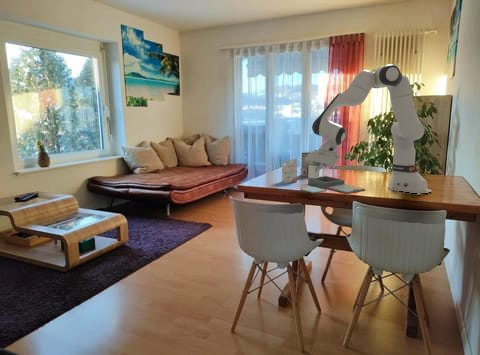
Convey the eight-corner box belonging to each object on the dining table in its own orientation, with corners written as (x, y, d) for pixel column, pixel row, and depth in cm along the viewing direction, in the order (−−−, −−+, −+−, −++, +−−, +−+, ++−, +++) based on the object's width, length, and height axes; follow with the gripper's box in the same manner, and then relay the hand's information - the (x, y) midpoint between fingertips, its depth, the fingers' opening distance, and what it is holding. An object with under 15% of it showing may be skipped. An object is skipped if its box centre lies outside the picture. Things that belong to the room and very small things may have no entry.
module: (319, 177, 190) (319, 163, 188) (313, 178, 188) (314, 164, 186) (313, 176, 193) (314, 162, 192) (308, 177, 191) (308, 163, 190)
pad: (326, 190, 190) (326, 190, 190) (313, 193, 185) (313, 192, 185) (313, 187, 199) (313, 186, 198) (300, 189, 193) (300, 188, 193)
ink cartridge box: (293, 180, 219) (293, 158, 217) (297, 182, 215) (297, 159, 212) (281, 181, 216) (281, 158, 214) (285, 183, 212) (285, 159, 209)
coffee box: (310, 174, 242) (311, 151, 239) (316, 175, 237) (317, 152, 234) (300, 175, 238) (301, 152, 235) (306, 176, 232) (307, 153, 229)
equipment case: (365, 190, 191) (365, 184, 191) (346, 193, 183) (347, 187, 183) (325, 181, 217) (325, 175, 216) (307, 183, 209) (308, 178, 208)
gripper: (311, 146, 200) (297, 163, 196) (337, 149, 182) (323, 168, 179) (316, 153, 203) (303, 170, 200) (342, 157, 186) (329, 176, 182)
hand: (313, 169), depth 189 cm, fingers closed on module, 4 cm apart
